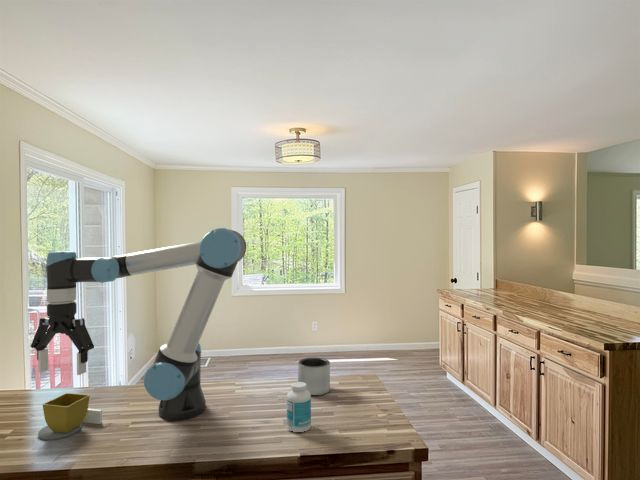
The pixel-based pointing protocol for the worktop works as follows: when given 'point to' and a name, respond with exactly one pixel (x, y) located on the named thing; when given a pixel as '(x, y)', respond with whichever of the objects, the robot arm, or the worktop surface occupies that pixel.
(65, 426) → the flower pot
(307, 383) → the planter
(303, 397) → the pill bottle
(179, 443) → the worktop surface
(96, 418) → the wall
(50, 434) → the coaster
